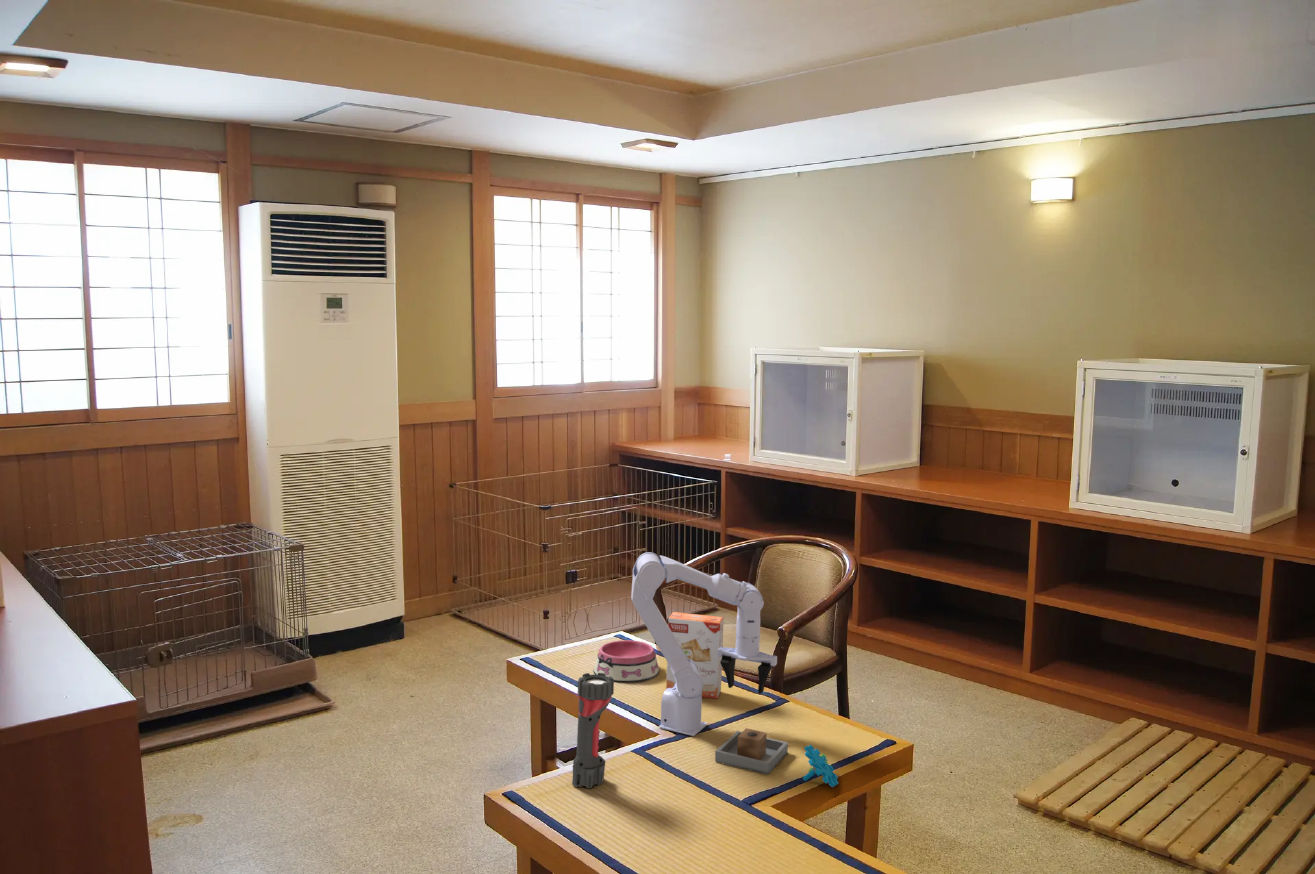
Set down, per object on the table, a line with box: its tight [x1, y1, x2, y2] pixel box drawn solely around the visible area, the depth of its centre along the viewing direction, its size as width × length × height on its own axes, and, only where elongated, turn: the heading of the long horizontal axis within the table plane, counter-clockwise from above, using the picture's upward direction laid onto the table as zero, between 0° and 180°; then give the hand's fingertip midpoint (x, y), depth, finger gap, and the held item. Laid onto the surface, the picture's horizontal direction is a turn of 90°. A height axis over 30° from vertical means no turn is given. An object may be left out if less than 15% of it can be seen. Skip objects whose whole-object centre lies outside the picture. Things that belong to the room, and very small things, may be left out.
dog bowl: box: [592, 639, 660, 684], centre depth 271 cm, size 18×19×7 cm
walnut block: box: [737, 728, 767, 760], centre depth 218 cm, size 5×5×5 cm
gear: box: [802, 744, 839, 788], centre depth 208 cm, size 11×6×10 cm
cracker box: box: [665, 611, 725, 700], centre depth 255 cm, size 14×6×21 cm, turn 76°
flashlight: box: [571, 672, 615, 789], centre depth 204 cm, size 8×8×23 cm
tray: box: [714, 730, 789, 776], centre depth 219 cm, size 13×13×2 cm
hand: (745, 689), depth 235 cm, fingers open, 7 cm apart
